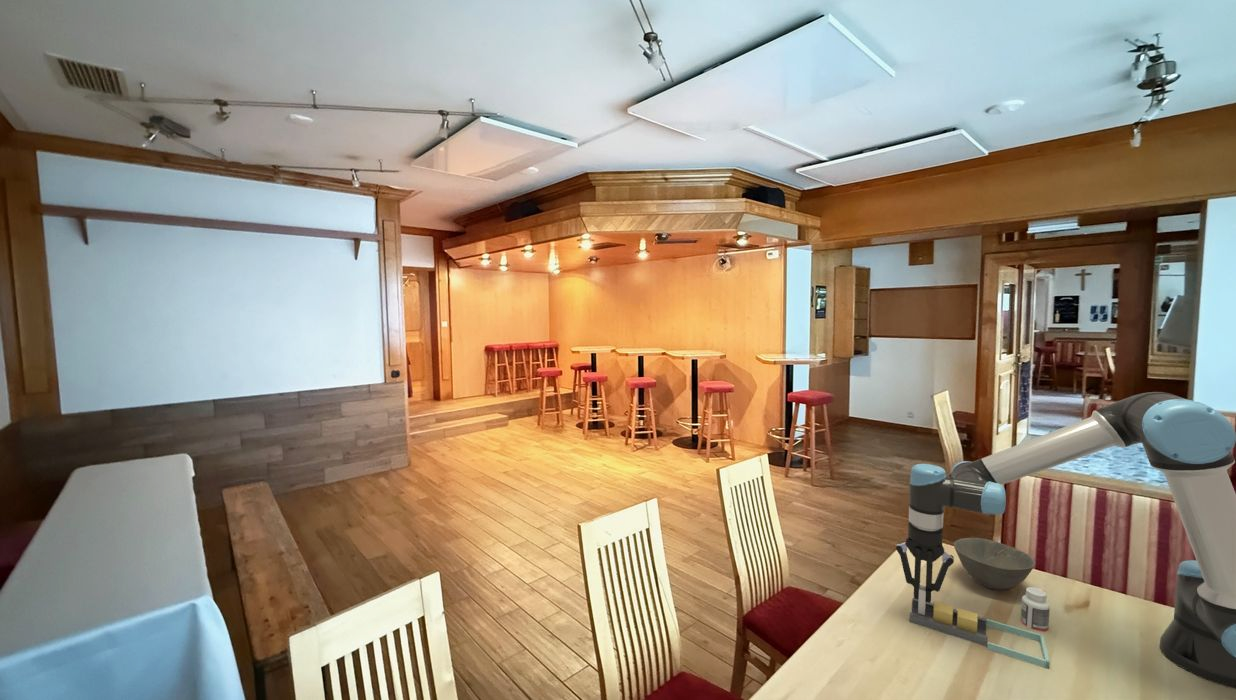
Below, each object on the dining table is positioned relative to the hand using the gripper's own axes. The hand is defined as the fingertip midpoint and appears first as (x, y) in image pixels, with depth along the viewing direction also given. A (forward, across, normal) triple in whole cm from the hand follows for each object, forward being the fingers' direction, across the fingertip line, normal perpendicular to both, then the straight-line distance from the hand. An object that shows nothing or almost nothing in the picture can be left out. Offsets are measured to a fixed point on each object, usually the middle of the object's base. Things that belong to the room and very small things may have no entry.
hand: (921, 611), depth 127 cm
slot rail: (+2, -6, 0) cm, 6 cm away
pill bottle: (+3, -24, -12) cm, 27 cm away
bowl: (+3, -16, -30) cm, 34 cm away
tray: (+2, -19, 0) cm, 19 cm away
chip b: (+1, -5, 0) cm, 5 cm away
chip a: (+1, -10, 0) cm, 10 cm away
